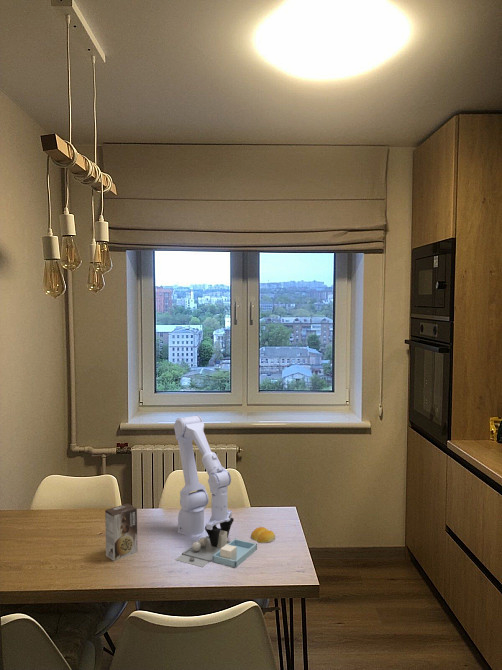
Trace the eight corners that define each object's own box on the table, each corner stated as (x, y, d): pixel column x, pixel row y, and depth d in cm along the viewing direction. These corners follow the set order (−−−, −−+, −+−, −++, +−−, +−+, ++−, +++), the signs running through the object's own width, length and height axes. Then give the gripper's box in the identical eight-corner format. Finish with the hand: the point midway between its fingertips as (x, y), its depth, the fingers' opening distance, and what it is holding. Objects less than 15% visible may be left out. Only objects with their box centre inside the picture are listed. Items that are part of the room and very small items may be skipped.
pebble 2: (196, 547, 184) (196, 538, 184) (201, 543, 187) (201, 535, 186) (204, 549, 182) (204, 540, 182) (209, 545, 185) (209, 536, 185)
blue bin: (212, 563, 173) (212, 555, 173) (234, 545, 186) (234, 538, 186) (235, 569, 169) (235, 561, 169) (256, 550, 182) (256, 543, 182)
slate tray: (174, 561, 175) (174, 556, 174) (206, 538, 192) (206, 534, 192) (203, 568, 169) (203, 564, 169) (234, 544, 187) (234, 540, 187)
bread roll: (264, 547, 186) (264, 536, 186) (247, 539, 192) (247, 528, 192) (280, 540, 191) (280, 529, 191) (264, 532, 198) (264, 522, 198)
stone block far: (211, 545, 185) (211, 533, 185) (217, 541, 189) (217, 529, 188) (221, 548, 183) (221, 535, 183) (227, 543, 187) (227, 531, 186)
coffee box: (128, 547, 185) (128, 502, 184) (138, 553, 180) (137, 507, 179) (104, 555, 178) (104, 509, 178) (114, 562, 174) (114, 514, 173)
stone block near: (220, 562, 173) (220, 548, 173) (226, 557, 176) (226, 544, 176) (230, 564, 171) (230, 551, 171) (236, 560, 174) (236, 546, 174)
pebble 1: (190, 551, 180) (190, 542, 180) (195, 548, 183) (195, 539, 183) (197, 553, 179) (197, 544, 179) (203, 550, 182) (203, 541, 181)
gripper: (218, 513, 177) (218, 552, 178) (239, 500, 190) (239, 536, 190) (201, 510, 180) (201, 548, 181) (222, 497, 193) (222, 533, 194)
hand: (219, 542), depth 186 cm, fingers open, 7 cm apart
